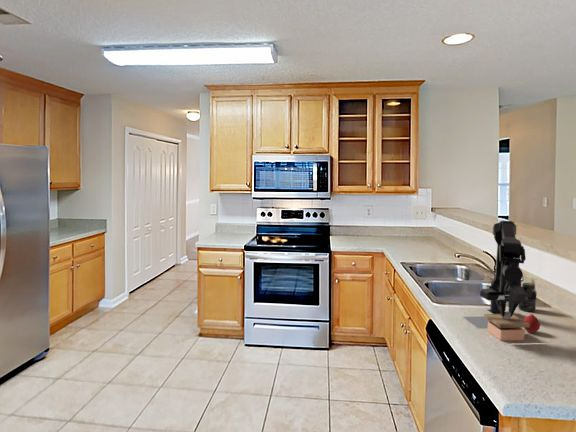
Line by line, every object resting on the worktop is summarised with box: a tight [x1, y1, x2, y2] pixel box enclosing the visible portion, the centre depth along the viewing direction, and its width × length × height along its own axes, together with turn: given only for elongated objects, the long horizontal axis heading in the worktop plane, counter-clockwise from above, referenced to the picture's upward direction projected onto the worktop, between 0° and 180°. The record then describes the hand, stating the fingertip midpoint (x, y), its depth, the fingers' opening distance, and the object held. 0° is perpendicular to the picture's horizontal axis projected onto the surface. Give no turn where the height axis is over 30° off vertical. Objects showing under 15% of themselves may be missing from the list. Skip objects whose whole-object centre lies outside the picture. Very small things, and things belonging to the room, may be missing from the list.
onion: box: [523, 312, 541, 334], centre depth 161 cm, size 6×6×8 cm
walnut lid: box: [483, 310, 530, 328], centre depth 157 cm, size 11×11×4 cm
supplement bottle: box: [517, 282, 538, 313], centre depth 189 cm, size 7×7×12 cm
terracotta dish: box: [486, 321, 526, 342], centre depth 158 cm, size 9×9×4 cm
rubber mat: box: [462, 316, 489, 329], centre depth 172 cm, size 13×13×1 cm
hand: (506, 316), depth 157 cm, fingers closed on walnut lid, 3 cm apart
